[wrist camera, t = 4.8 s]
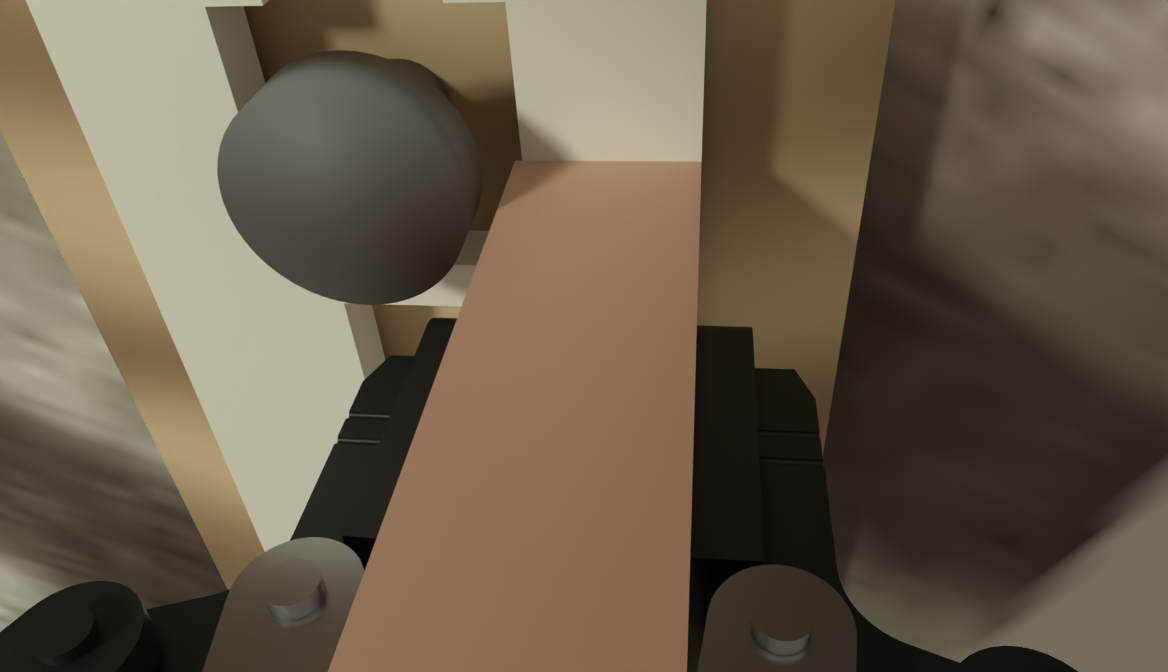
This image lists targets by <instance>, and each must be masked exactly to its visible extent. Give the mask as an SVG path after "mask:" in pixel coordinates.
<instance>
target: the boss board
mask: <svg viewBox="0 0 1168 672" xmlns="http://www.w3.org/2000/svg"><path fill="white" fill-rule="evenodd" d="M895 4H896V0H707V3H706V35H705V67H704V99H703V131H702V163H701V198H700V233H699V268H698V303H697V325H703V326H738V327H752V329H753V342H754V362H755V368H772V369H795V371H796V372H797V373H798V375H799V376H800V378H801V379H802V380H803V382H804V383H805V385H806V386H807V387H808V389H809V390H810V392H811V393H812V394H813V396H814V397H815V399H816V406H817V414H818V422H819V430H820V439H821V446H822V454H823V452H824V446H825V440H826V433H827V427H828V421H829V415H830V408H831V402H832V396H833V390H834V383H835V377H836V371H837V365H838V359H839V352H840V346H841V340H842V334H843V327H844V321H845V315H846V309H847V303H848V296H849V290H850V284H851V278H852V271H853V265H854V259H855V253H856V246H857V240H858V234H859V228H860V222H861V215H862V209H863V203H864V197H865V190H866V184H867V178H868V172H869V166H870V159H871V153H872V147H873V141H874V134H875V128H876V122H877V116H878V109H879V103H880V97H881V91H882V85H883V78H884V72H885V66H886V60H887V53H888V47H889V41H890V35H891V28H892V22H893V16H894V10H895ZM243 7H244V10H245V14H246V17H247V21H248V24H249V28H250V31H251V35H252V38H253V42H254V45H255V49H256V52H257V56H258V59H259V63H260V66H261V70H262V73H263V77H264V80H265V85H264V86H263V87H262V88H261V89H260V90H259V91H258V92H257V93H256V94H255V95H254V96H253V97H252V98H251V99H250V100H249V101H248V102H247V103H246V105H245V106H244V107H243V108H242V109H241V110H240V111H239V112H238V113H237V115H236V116H235V117H234V118H233V119H232V121H231V122H230V124H229V126H228V127H227V129H226V131H225V133H224V136H223V138H222V141H221V144H220V148H219V154H218V162H217V175H218V182H219V189H220V192H221V196H222V200H223V203H224V205H225V208H226V210H227V212H228V215H229V217H230V219H231V221H232V222H233V224H234V226H235V228H236V229H237V231H238V232H239V234H240V235H241V236H242V238H243V239H244V241H245V242H246V243H247V244H248V246H249V247H250V248H251V249H252V250H253V251H254V252H255V253H256V255H257V256H259V257H260V258H261V259H262V260H263V261H264V262H265V263H266V264H267V265H268V266H270V267H271V268H272V269H273V270H275V271H276V272H277V273H279V274H280V275H281V276H283V277H285V278H286V279H288V280H289V281H291V282H292V283H294V284H296V285H298V286H300V287H302V288H304V289H306V290H308V291H310V292H313V293H315V294H318V295H320V296H323V297H326V298H329V299H333V300H336V301H341V302H346V303H352V304H362V305H372V308H373V312H374V316H375V320H376V324H377V328H378V332H379V336H380V340H381V344H382V348H383V352H384V356H385V360H386V359H387V358H388V357H389V356H390V355H398V356H415V353H416V351H417V348H418V346H419V343H420V341H421V338H422V336H423V333H424V331H425V328H426V326H427V324H428V322H429V320H430V319H431V318H458V315H459V312H460V309H461V306H424V305H386V304H390V303H396V302H400V301H404V300H407V299H410V298H413V297H415V296H418V295H420V294H422V293H424V292H425V291H427V290H429V289H430V288H432V287H433V286H435V285H436V284H437V283H438V282H439V281H441V280H442V279H443V278H444V277H445V276H446V274H447V273H448V272H449V271H450V270H451V269H452V267H453V265H454V264H455V262H456V261H457V259H458V257H459V254H460V252H461V249H462V247H463V245H464V242H465V240H466V237H467V235H468V232H469V231H489V230H490V228H491V225H492V222H493V219H494V217H495V214H496V211H497V209H498V206H499V203H500V200H501V198H502V195H503V192H504V189H505V187H506V184H507V181H508V178H509V176H510V173H511V170H512V168H513V165H514V162H515V160H519V161H522V155H521V145H520V136H519V127H518V117H517V108H516V98H515V89H514V80H513V70H512V61H511V51H510V42H509V33H508V23H507V14H506V4H505V2H477V3H443V0H269V1H268V2H267V3H266V4H264V5H263V6H243ZM0 130H1V132H2V134H3V137H4V139H5V141H6V143H7V145H8V147H9V149H10V151H11V153H12V155H13V157H14V159H15V161H16V163H17V165H18V167H19V169H20V171H21V173H22V175H23V177H24V179H25V181H26V183H27V185H28V187H29V189H30V191H31V193H32V195H33V197H34V199H35V201H36V203H37V205H38V207H39V209H40V211H41V213H42V215H43V217H44V219H45V221H46V223H47V225H48V227H49V230H50V232H51V234H52V236H53V238H54V240H55V242H56V244H57V246H58V248H59V250H60V252H61V254H62V256H63V258H64V260H65V262H66V264H67V266H68V268H69V270H70V272H71V274H72V276H73V278H74V280H75V282H76V284H77V286H78V288H79V290H80V292H81V294H82V296H83V298H84V300H85V302H86V304H87V306H88V308H89V310H90V312H91V314H92V316H93V318H94V321H95V323H96V325H97V327H98V329H99V331H100V333H101V335H102V337H103V339H104V341H105V343H106V345H107V347H108V349H109V351H110V353H111V355H112V357H113V359H114V361H115V363H116V365H117V367H118V369H119V371H120V373H121V375H122V377H123V379H124V381H125V383H126V385H127V387H128V389H129V391H130V393H131V395H132V397H133V399H134V401H135V403H136V405H137V407H138V409H139V411H140V414H141V416H142V418H143V420H144V422H145V424H146V426H147V428H148V430H149V432H150V434H151V436H152V438H153V440H154V442H155V444H156V446H157V448H158V450H159V452H160V454H161V456H162V458H163V460H164V462H165V464H166V466H167V468H168V470H169V472H170V474H171V476H172V478H173V480H174V482H175V484H176V486H177V488H178V490H179V492H180V494H181V496H182V498H183V500H184V502H185V505H186V507H187V509H188V511H189V513H190V515H191V517H192V519H193V521H194V523H195V525H196V527H197V529H198V531H199V533H200V535H201V537H202V539H203V541H204V543H205V545H206V547H207V549H208V551H209V553H210V555H211V557H212V559H213V561H214V563H215V565H216V567H217V569H218V571H219V573H220V575H221V577H222V579H223V581H224V583H225V585H226V587H227V589H228V590H229V589H231V586H232V585H233V583H234V581H235V580H236V578H237V577H238V575H239V574H240V573H241V572H242V571H243V570H244V568H245V567H246V566H247V565H249V564H250V563H251V562H252V561H253V560H254V559H255V558H257V557H258V556H260V555H261V554H263V553H264V552H265V551H264V549H263V547H262V545H261V542H260V540H259V538H258V535H257V533H256V531H255V528H254V526H253V524H252V521H251V519H250V517H249V515H248V512H247V510H246V508H245V505H244V503H243V501H242V498H241V496H240V494H239V491H238V489H237V487H236V485H235V482H234V480H233V478H232V475H231V473H230V471H229V468H228V466H227V464H226V461H225V459H224V457H223V455H222V452H221V450H220V448H219V445H218V443H217V441H216V438H215V436H214V434H213V432H212V429H211V427H210V425H209V422H208V420H207V418H206V415H205V413H204V411H203V408H202V406H201V404H200V402H199V399H198V397H197V395H196V392H195V390H194V388H193V385H192V383H191V381H190V378H189V376H188V374H187V372H186V369H185V367H184V365H183V362H182V360H181V358H180V355H179V353H178V351H177V348H176V346H175V344H174V342H173V339H172V337H171V335H170V332H169V330H168V328H167V325H166V323H165V321H164V318H163V316H162V314H161V312H160V309H159V307H158V305H157V302H156V300H155V298H154V295H153V293H152V291H151V288H150V286H149V284H148V282H147V279H146V277H145V275H144V272H143V270H142V268H141V265H140V263H139V261H138V259H137V256H136V254H135V252H134V249H133V247H132V245H131V242H130V240H129V238H128V235H127V233H126V231H125V229H124V226H123V224H122V222H121V219H120V217H119V215H118V212H117V210H116V208H115V205H114V203H113V201H112V199H111V196H110V194H109V192H108V189H107V187H106V185H105V182H104V180H103V178H102V175H101V173H100V171H99V169H98V166H97V164H96V162H95V159H94V157H93V155H92V152H91V150H90V148H89V145H88V143H87V141H86V139H85V136H84V134H83V132H82V129H81V127H80V125H79V122H78V120H77V118H76V116H75V113H74V111H73V109H72V106H71V104H70V102H69V99H68V97H67V95H66V92H65V90H64V88H63V86H62V83H61V81H60V79H59V76H58V74H57V72H56V69H55V67H54V65H53V62H52V60H51V58H50V56H49V53H48V51H47V49H46V46H45V44H44V42H43V39H42V37H41V35H40V32H39V30H38V28H37V26H36V23H35V21H34V19H33V16H32V14H31V12H30V9H29V7H28V5H27V2H26V0H0Z"/></svg>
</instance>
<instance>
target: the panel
mask: <svg viewBox="0 0 1168 672" xmlns="http://www.w3.org/2000/svg"><path fill="white" fill-rule="evenodd" d="M268 1H269V0H26V2H27V5H28V7H29V9H30V12H31V14H32V16H33V19H34V21H35V23H36V26H37V28H38V30H39V32H40V35H41V37H42V39H43V42H44V44H45V46H46V49H47V51H48V53H49V56H50V58H51V60H52V62H53V65H54V67H55V69H56V72H57V74H58V76H59V79H60V81H61V83H62V86H63V88H64V90H65V92H66V95H67V97H68V99H69V102H70V104H71V106H72V109H73V111H74V113H75V116H76V118H77V120H78V122H79V125H80V127H81V129H82V132H83V134H84V136H85V139H86V141H87V143H88V145H89V148H90V150H91V152H92V155H93V157H94V159H95V162H96V164H97V166H98V169H99V171H100V173H101V175H102V178H103V180H104V182H105V185H106V187H107V189H108V192H109V194H110V196H111V199H112V201H113V203H114V205H115V208H116V210H117V212H118V215H119V217H120V219H121V222H122V224H123V226H124V229H125V231H126V233H127V235H128V238H129V240H130V242H131V245H132V247H133V249H134V252H135V254H136V256H137V259H138V261H139V263H140V265H141V268H142V270H143V272H144V275H145V277H146V279H147V282H148V284H149V286H150V288H151V291H152V293H153V295H154V298H155V300H156V302H157V305H158V307H159V309H160V312H161V314H162V316H163V318H164V321H165V323H166V325H167V328H168V330H169V332H170V335H171V337H172V339H173V342H174V344H175V346H176V348H177V351H178V353H179V355H180V358H181V360H182V362H183V365H184V367H185V369H186V372H187V374H188V376H189V378H190V381H191V383H192V385H193V388H194V390H195V392H196V395H197V397H198V399H199V402H200V404H201V406H202V408H203V411H204V413H205V415H206V418H207V420H208V422H209V425H210V427H211V429H212V432H213V434H214V436H215V438H216V441H217V443H218V445H219V448H220V450H221V452H222V455H223V457H224V459H225V461H226V464H227V466H228V468H229V471H230V473H231V475H232V478H233V480H234V482H235V485H236V487H237V489H238V491H239V494H240V496H241V498H242V501H243V503H244V505H245V508H246V510H247V512H248V515H249V517H250V519H251V521H252V524H253V526H254V528H255V531H256V533H257V535H258V538H259V540H260V542H261V545H262V547H263V549H264V551H265V552H266V551H267V550H269V549H271V548H273V547H275V546H277V545H280V544H282V543H285V542H288V541H290V539H291V537H292V535H293V533H294V531H295V529H296V526H297V524H298V522H299V520H300V518H301V515H302V513H303V511H304V509H305V507H306V505H307V502H308V500H309V498H310V496H311V494H312V491H313V489H314V487H315V485H316V483H317V480H318V478H319V476H320V474H321V472H322V470H323V467H324V465H325V463H326V461H327V459H328V456H329V454H330V452H331V450H332V448H333V445H334V444H337V441H338V438H337V437H338V435H339V432H340V430H341V428H342V426H343V424H344V421H345V419H346V418H349V410H350V408H351V406H352V404H353V402H354V399H355V397H356V395H357V393H358V391H359V389H360V386H361V384H362V382H363V381H364V380H365V379H366V378H367V377H368V376H369V375H370V374H371V373H372V372H373V371H374V370H375V369H376V368H378V367H379V366H380V365H381V364H382V363H383V362H384V361H385V356H384V352H383V348H382V344H381V340H380V336H379V332H378V328H377V324H376V320H375V316H374V312H373V308H372V305H362V304H352V303H346V302H341V301H336V300H333V299H329V298H326V297H323V296H320V295H318V294H315V293H313V292H310V291H308V290H306V289H304V288H302V287H300V286H298V285H296V284H294V283H292V282H291V281H289V280H288V279H286V278H285V277H283V276H281V275H280V274H279V273H277V272H276V271H275V270H273V269H272V268H271V267H270V266H268V265H267V264H266V263H265V262H264V261H263V260H262V259H261V258H260V257H259V256H257V255H256V253H255V252H254V251H253V250H252V249H251V248H250V247H249V246H248V244H247V243H246V242H245V241H244V239H243V238H242V236H241V235H240V234H239V232H238V231H237V229H236V228H235V226H234V224H233V222H232V221H231V219H230V217H229V215H228V212H227V210H226V208H225V205H224V203H223V200H222V196H221V192H220V189H219V182H218V175H217V162H218V154H219V148H220V144H221V141H222V138H223V136H224V133H225V131H226V129H227V127H228V126H229V124H230V122H231V121H232V119H233V118H234V117H235V116H236V115H237V113H238V112H239V111H240V110H241V109H242V108H243V107H244V106H245V105H246V103H247V102H248V101H249V100H250V99H251V98H252V97H253V96H254V95H255V94H256V93H257V92H258V91H259V90H260V89H261V88H262V87H263V86H264V85H265V80H264V77H263V73H262V70H261V66H260V63H259V59H258V56H257V52H256V49H255V45H254V42H253V38H252V35H251V31H250V28H249V24H248V21H247V17H246V14H245V10H244V7H243V6H263V5H264V4H266V3H267V2H268ZM477 2H505V4H506V14H507V23H508V33H509V42H510V51H511V61H512V70H513V80H514V89H515V98H516V108H517V117H518V127H519V136H520V145H521V155H522V161H519V160H515V162H514V165H513V168H512V170H511V173H510V176H509V178H508V181H507V184H506V187H505V189H504V192H503V195H502V198H501V200H500V203H499V206H498V209H497V211H496V214H495V217H494V219H493V222H492V225H491V228H490V230H489V231H469V232H468V235H467V237H466V240H465V242H464V245H463V247H462V249H461V252H460V254H459V257H458V259H457V261H456V262H455V264H454V265H453V267H452V269H451V270H450V271H449V272H448V273H447V274H446V276H445V277H444V278H443V279H442V280H441V281H439V282H438V283H437V284H436V285H435V286H433V287H432V288H430V289H429V290H427V291H425V292H424V293H422V294H420V295H418V296H415V297H413V298H410V299H407V300H404V301H400V302H396V303H390V304H386V305H424V306H461V309H460V312H459V315H458V318H457V320H456V323H455V326H454V329H453V331H452V334H451V337H450V339H449V342H448V345H447V348H446V350H445V353H444V356H443V359H442V361H441V364H440V367H439V369H438V372H437V375H436V378H435V380H434V383H433V386H432V389H431V391H430V394H429V397H428V400H427V402H426V405H425V408H424V410H423V413H422V416H421V419H420V421H419V424H418V427H417V430H416V432H415V435H414V438H413V440H412V443H411V446H410V449H409V451H408V454H407V457H406V460H405V462H404V465H403V468H402V470H401V473H400V476H399V479H398V481H397V484H396V487H395V490H394V492H393V495H392V498H391V500H390V503H389V506H388V509H387V511H386V514H385V517H384V520H383V522H382V525H381V528H380V530H379V533H378V536H377V539H376V541H375V544H374V547H373V550H372V552H371V555H370V558H369V560H368V563H367V566H366V569H365V571H364V574H363V577H362V580H361V582H360V585H359V588H358V591H357V593H356V596H355V599H354V601H353V604H352V607H351V610H350V612H349V615H348V618H347V621H346V623H345V626H344V629H343V631H342V634H341V637H340V640H339V642H338V645H337V648H336V651H335V653H334V656H333V659H332V661H331V664H330V667H329V670H328V672H687V654H688V619H689V583H690V548H691V513H692V478H693V443H694V408H695V373H696V338H697V303H698V268H699V233H700V198H701V163H702V131H703V99H704V67H705V35H706V3H707V0H443V3H477Z"/></svg>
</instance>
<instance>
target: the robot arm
mask: <svg viewBox="0 0 1168 672" xmlns="http://www.w3.org/2000/svg"><path fill="white" fill-rule="evenodd" d="M456 320H457V318H431V319H430V320H429V322H428V324H427V326H426V328H425V331H424V333H423V336H422V338H421V341H420V343H419V346H418V348H417V351H416V353H415V356H398V355H390V356H389V357H388V358H387V359H386V360H385V361H384V362H383V363H382V364H381V365H380V366H379V367H378V368H376V369H375V370H374V371H373V372H372V373H371V374H370V375H369V376H368V377H367V378H366V379H365V380H364V381H363V382H362V384H361V386H360V389H359V391H358V393H357V395H356V397H355V399H354V402H353V404H352V406H351V408H350V410H349V418H346V419H345V421H344V424H343V426H342V428H341V430H340V432H339V435H338V437H337V438H338V441H337V444H334V445H333V448H332V450H331V452H330V454H329V456H328V459H327V461H326V463H325V465H324V467H323V470H322V472H321V474H320V476H319V478H318V480H317V483H316V485H315V487H314V489H313V491H312V494H311V496H310V498H309V500H308V502H307V505H306V507H305V509H304V511H303V513H302V515H301V518H300V520H299V522H298V524H297V526H296V529H295V531H294V533H293V535H292V537H291V539H290V541H288V542H285V543H282V544H280V545H277V546H275V547H273V548H271V549H269V550H267V551H266V552H264V553H263V554H261V555H260V556H258V557H257V558H255V559H254V560H253V561H252V562H251V563H250V564H249V565H247V566H246V567H245V568H244V570H243V571H242V572H241V573H240V574H239V575H238V577H237V578H236V580H235V581H234V583H233V585H232V586H231V589H229V590H227V591H224V592H221V593H218V594H214V595H210V596H206V597H202V598H197V599H192V600H188V601H183V602H179V603H174V604H170V605H165V606H161V607H156V608H152V609H147V610H146V609H145V607H144V606H143V604H142V603H141V601H140V599H139V598H138V596H137V595H136V594H135V593H134V592H133V591H132V590H131V589H130V588H128V587H126V586H124V585H122V584H118V583H114V582H107V581H95V582H87V583H82V584H77V585H74V586H71V587H68V588H65V589H63V590H61V591H58V592H56V593H54V594H52V595H50V596H48V597H47V598H45V599H43V600H42V601H40V602H39V603H37V604H36V605H34V606H33V607H32V608H30V609H29V610H28V611H26V612H25V613H24V614H23V615H21V616H20V617H19V618H18V619H16V620H15V621H14V622H13V623H11V624H10V625H9V626H8V627H6V628H5V629H4V630H3V631H1V632H0V672H328V670H329V667H330V664H331V661H332V659H333V656H334V653H335V651H336V648H337V645H338V642H339V640H340V637H341V634H342V631H343V629H344V626H345V623H346V621H347V618H348V615H349V612H350V610H351V607H352V604H353V601H354V599H355V596H356V593H357V591H358V588H359V585H360V582H361V580H362V577H363V574H364V571H365V569H366V566H367V563H368V560H369V558H370V555H371V552H372V550H373V547H374V544H375V541H376V539H377V536H378V533H379V530H380V528H381V525H382V522H383V520H384V517H385V514H386V511H387V509H388V506H389V503H390V500H391V498H392V495H393V492H394V490H395V487H396V484H397V481H398V479H399V476H400V473H401V470H402V468H403V465H404V462H405V460H406V457H407V454H408V451H409V449H410V446H411V443H412V440H413V438H414V435H415V432H416V430H417V427H418V424H419V421H420V419H421V416H422V413H423V410H424V408H425V405H426V402H427V400H428V397H429V394H430V391H431V389H432V386H433V383H434V380H435V378H436V375H437V372H438V369H439V367H440V364H441V361H442V359H443V356H444V353H445V350H446V348H447V345H448V342H449V339H450V337H451V334H452V331H453V329H454V326H455V323H456ZM687 672H1077V671H1076V670H1075V669H1073V668H1072V667H1070V666H1068V665H1067V664H1065V663H1064V662H1062V661H1060V660H1058V659H1056V658H1054V657H1052V656H1049V655H1047V654H1044V653H1042V652H1039V651H1035V650H1033V649H1028V648H1022V647H1015V646H998V647H990V648H987V649H983V650H979V651H977V652H975V653H973V654H971V655H969V656H968V657H967V658H966V659H964V660H963V661H962V662H961V663H958V662H956V661H953V660H950V659H947V658H945V657H942V656H939V655H936V654H933V653H931V652H928V651H925V650H922V649H920V648H917V647H914V646H911V645H909V644H906V643H904V642H902V641H899V640H897V639H895V638H893V637H891V636H889V635H888V634H886V633H884V632H882V631H881V630H879V629H878V628H877V627H875V626H874V625H873V624H871V623H870V622H869V621H868V620H867V619H866V618H864V617H863V616H862V615H861V614H860V613H859V612H858V610H857V609H856V608H855V607H854V606H853V604H852V603H851V602H850V600H849V599H848V597H847V595H846V594H845V592H844V590H843V588H842V585H841V583H840V580H839V576H838V572H837V566H836V558H835V550H834V542H833V534H832V526H831V518H830V510H829V502H828V494H827V486H826V478H825V470H824V467H823V454H822V446H821V439H820V430H819V422H818V414H817V406H816V399H815V397H814V396H813V394H812V393H811V392H810V390H809V389H808V387H807V386H806V385H805V383H804V382H803V380H802V379H801V378H800V376H799V375H798V373H797V372H796V371H795V369H772V368H755V362H754V342H753V329H752V327H738V326H703V325H697V338H696V373H695V408H694V443H693V478H692V513H691V548H690V583H689V619H688V654H687Z"/></svg>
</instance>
